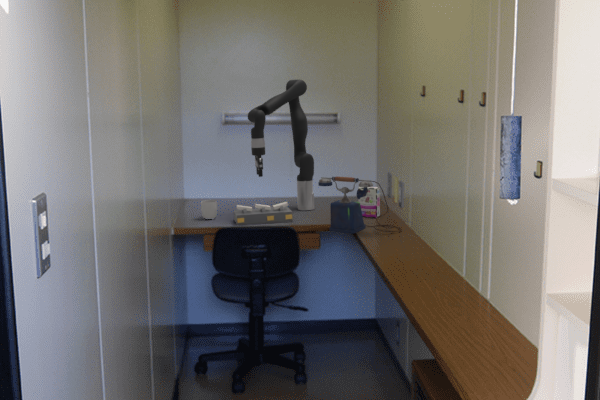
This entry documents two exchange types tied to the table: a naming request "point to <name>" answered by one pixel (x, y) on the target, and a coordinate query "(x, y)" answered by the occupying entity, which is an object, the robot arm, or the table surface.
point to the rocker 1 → (244, 207)
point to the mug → (209, 208)
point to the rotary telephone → (349, 207)
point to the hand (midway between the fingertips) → (259, 175)
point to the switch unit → (263, 216)
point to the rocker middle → (262, 206)
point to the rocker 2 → (280, 205)
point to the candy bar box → (370, 202)
